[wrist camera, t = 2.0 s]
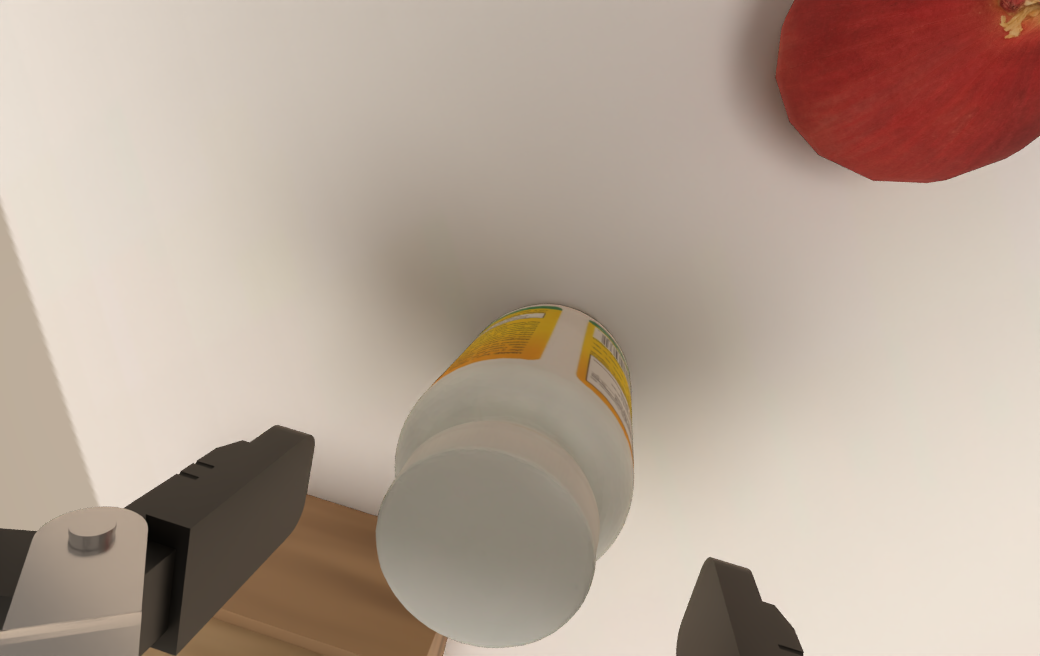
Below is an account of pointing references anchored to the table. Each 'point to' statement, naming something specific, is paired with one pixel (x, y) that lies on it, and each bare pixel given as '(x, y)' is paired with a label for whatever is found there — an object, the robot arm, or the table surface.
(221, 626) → the tower top
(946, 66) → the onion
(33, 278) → the table surface
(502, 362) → the supplement bottle
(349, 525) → the tower base
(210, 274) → the table surface
